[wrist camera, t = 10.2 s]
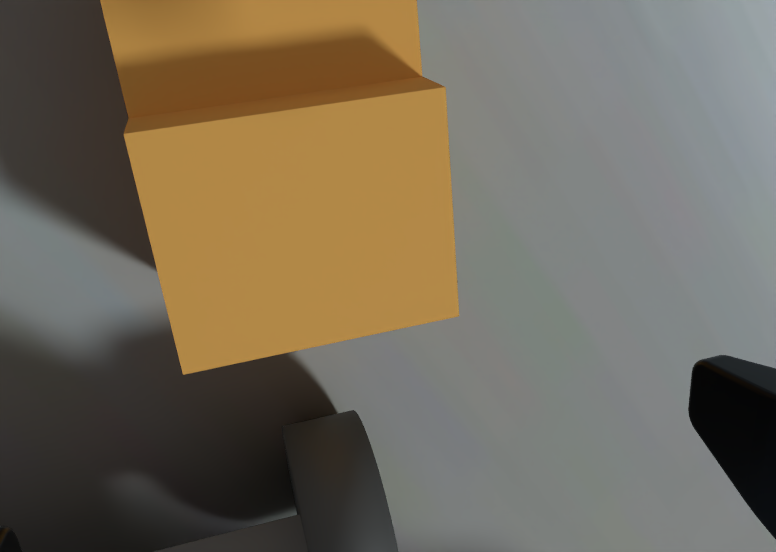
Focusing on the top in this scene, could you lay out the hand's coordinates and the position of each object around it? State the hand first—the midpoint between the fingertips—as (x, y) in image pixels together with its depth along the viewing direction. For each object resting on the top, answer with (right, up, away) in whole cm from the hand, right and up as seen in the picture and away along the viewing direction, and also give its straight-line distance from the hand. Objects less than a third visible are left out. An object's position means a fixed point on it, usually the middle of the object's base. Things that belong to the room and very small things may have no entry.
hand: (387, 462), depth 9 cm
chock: (-3, +6, +9) cm, 11 cm away
